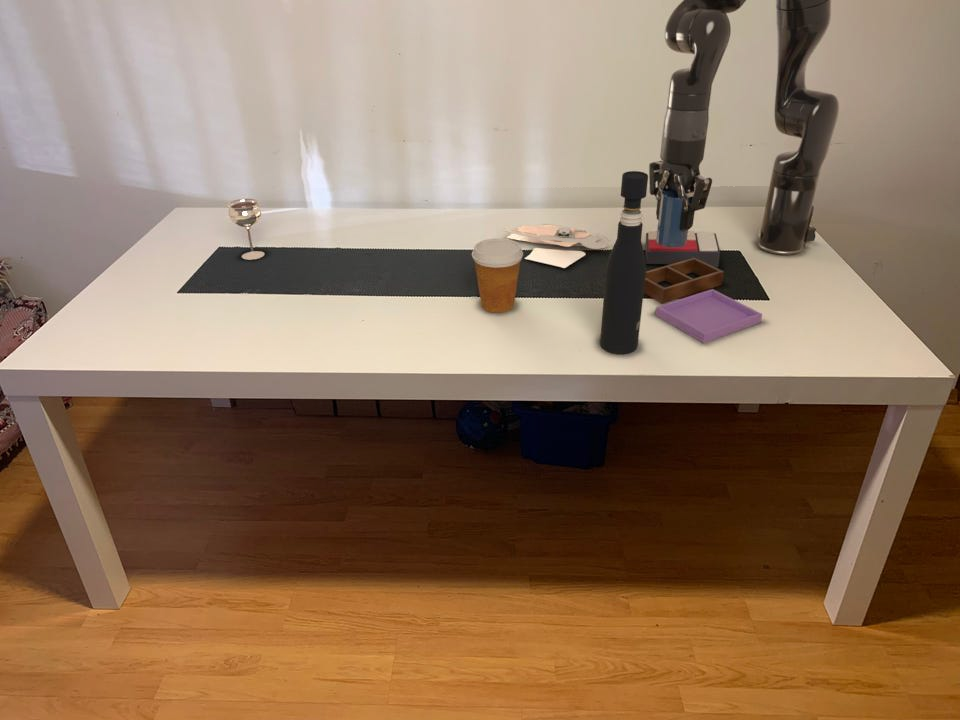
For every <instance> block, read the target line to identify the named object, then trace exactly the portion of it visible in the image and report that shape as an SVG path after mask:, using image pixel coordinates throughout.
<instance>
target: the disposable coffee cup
mask: <svg viewBox="0 0 960 720" xmlns="http://www.w3.org/2000/svg"><path fill="white" fill-rule="evenodd" d="M523 256H524V252H523V250H522V247H521V244H520V243H519V242H517V241H515V240H514V239H510V238H503V237H502V238H499V237H496V238H494V237H493V238H487V239H483V240H481V241H478V242H476V244H474V246H473V250H472V252H471V257H472V259H473V261H474V265H475V266H474V267H475V273H476V279H477V286H478V292H479V298H480V305H481V308H482V309H483V310H484V311H487V312H490V313H504V312H505V313H506V312H509V311H511V310H513V308H514V306H515V302H516V301H515V300H516V293H517V288H518V287H517V286H518V280H519V273H520V266H521V261H522V258H523Z"/></svg>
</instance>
